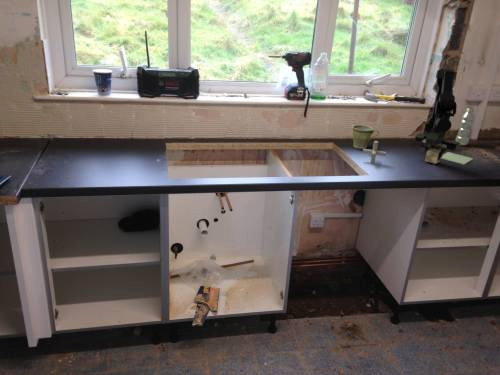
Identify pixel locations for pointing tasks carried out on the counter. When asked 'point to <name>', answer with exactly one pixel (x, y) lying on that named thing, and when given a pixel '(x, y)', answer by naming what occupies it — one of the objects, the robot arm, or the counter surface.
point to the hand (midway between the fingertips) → (432, 159)
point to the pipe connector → (374, 152)
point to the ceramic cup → (362, 136)
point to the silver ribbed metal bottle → (465, 126)
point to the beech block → (432, 156)
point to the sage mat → (456, 158)
